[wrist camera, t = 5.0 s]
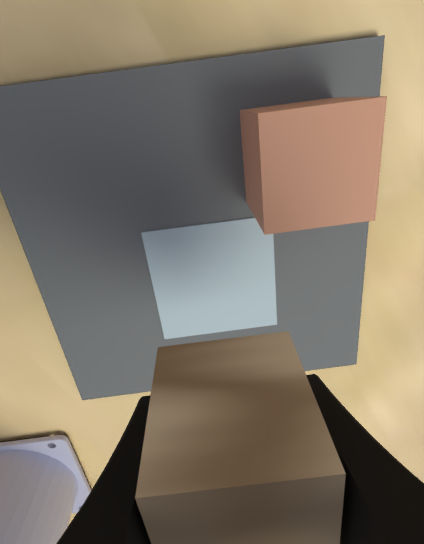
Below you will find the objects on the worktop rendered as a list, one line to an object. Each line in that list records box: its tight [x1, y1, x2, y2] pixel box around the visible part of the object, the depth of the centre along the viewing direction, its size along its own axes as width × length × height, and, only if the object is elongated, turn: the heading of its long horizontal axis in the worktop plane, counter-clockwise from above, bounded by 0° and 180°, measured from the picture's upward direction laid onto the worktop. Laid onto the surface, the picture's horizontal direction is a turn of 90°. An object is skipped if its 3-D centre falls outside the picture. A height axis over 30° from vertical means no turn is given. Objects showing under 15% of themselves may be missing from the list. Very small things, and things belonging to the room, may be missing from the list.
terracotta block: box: [239, 96, 387, 235], centre depth 14 cm, size 4×4×4 cm
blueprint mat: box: [0, 35, 385, 400], centre depth 18 cm, size 17×17×1 cm
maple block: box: [135, 331, 346, 544], centre depth 9 cm, size 4×4×4 cm
